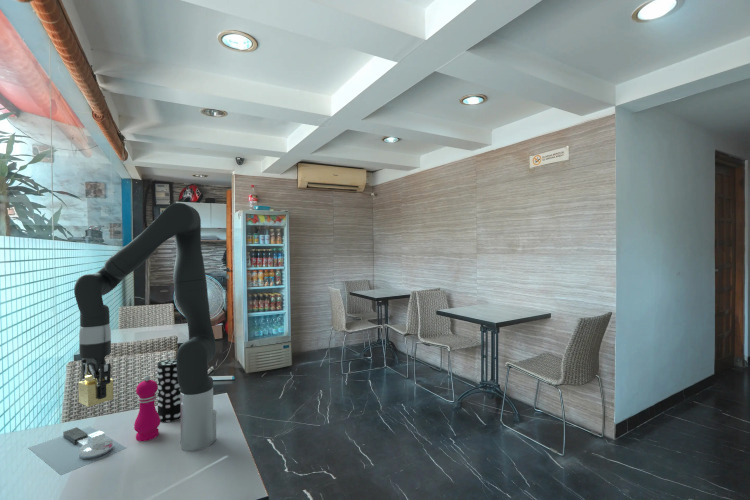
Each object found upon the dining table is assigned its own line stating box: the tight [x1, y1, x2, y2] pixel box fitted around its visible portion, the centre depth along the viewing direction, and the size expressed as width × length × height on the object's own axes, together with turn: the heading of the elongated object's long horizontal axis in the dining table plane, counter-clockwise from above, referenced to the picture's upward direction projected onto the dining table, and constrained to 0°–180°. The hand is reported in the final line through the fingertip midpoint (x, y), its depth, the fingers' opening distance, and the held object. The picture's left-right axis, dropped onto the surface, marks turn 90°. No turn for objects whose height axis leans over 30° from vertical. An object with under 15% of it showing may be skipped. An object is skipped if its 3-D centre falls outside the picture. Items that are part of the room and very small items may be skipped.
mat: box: [28, 426, 127, 476], centre depth 113 cm, size 16×26×1 cm, turn 58°
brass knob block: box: [78, 373, 114, 408], centre depth 110 cm, size 6×6×8 cm
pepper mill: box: [133, 375, 161, 442], centre depth 119 cm, size 7×7×20 cm
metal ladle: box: [62, 427, 113, 460], centre depth 114 cm, size 8×24×6 cm, turn 58°
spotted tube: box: [156, 358, 181, 423], centre depth 134 cm, size 8×8×20 cm
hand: (96, 395), depth 110 cm, fingers closed on brass knob block, 6 cm apart
